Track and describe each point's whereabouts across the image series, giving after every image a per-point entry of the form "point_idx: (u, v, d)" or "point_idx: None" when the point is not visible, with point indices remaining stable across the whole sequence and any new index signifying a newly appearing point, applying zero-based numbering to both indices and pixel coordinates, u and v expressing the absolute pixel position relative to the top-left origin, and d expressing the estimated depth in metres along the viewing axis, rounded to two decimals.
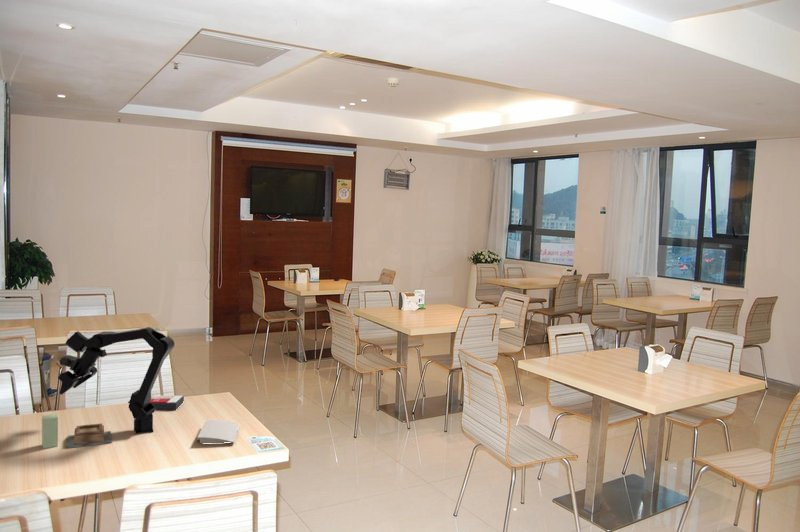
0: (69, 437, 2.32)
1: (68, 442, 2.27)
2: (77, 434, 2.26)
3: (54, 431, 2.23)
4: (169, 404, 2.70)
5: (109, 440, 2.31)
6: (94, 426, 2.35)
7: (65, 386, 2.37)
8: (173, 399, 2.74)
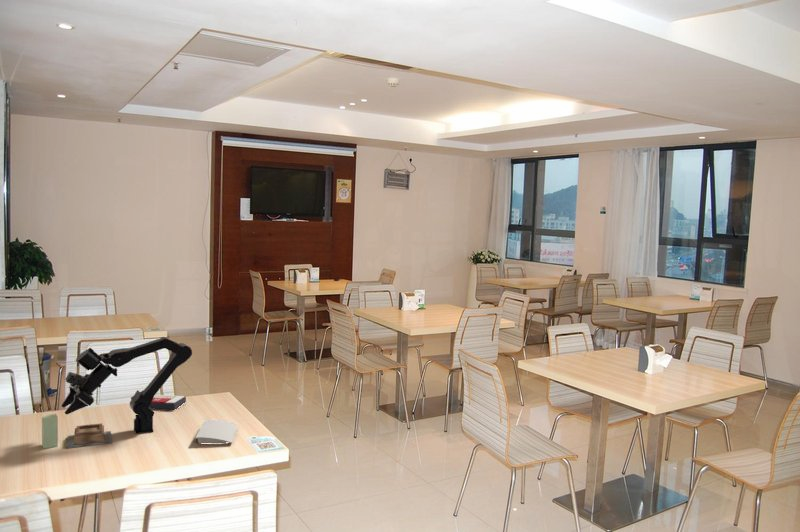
0: (69, 437, 2.32)
1: (68, 442, 2.27)
2: (77, 434, 2.26)
3: (54, 431, 2.23)
4: (168, 404, 2.69)
5: (109, 440, 2.31)
6: (94, 426, 2.35)
7: (76, 405, 2.24)
8: (173, 399, 2.74)
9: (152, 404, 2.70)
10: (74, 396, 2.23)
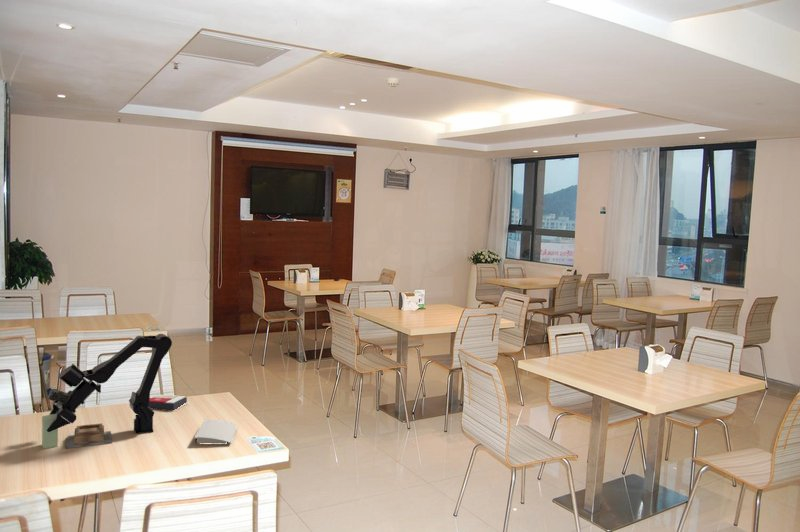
0: (69, 437, 2.32)
1: (68, 442, 2.27)
2: (77, 434, 2.26)
3: (54, 431, 2.23)
4: (167, 404, 2.69)
5: (109, 440, 2.31)
6: (94, 426, 2.35)
7: (58, 423, 2.21)
8: (173, 399, 2.74)
9: (152, 404, 2.71)
10: (56, 413, 2.20)
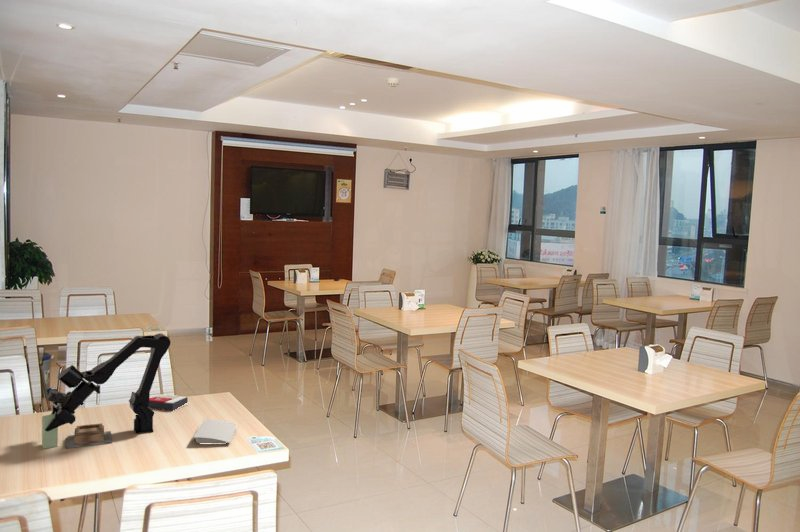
0: (69, 437, 2.32)
1: (68, 442, 2.27)
2: (77, 434, 2.26)
3: (54, 431, 2.23)
4: (166, 404, 2.69)
5: (109, 440, 2.31)
6: (94, 426, 2.35)
7: (56, 422, 2.22)
8: (173, 399, 2.73)
9: (152, 403, 2.72)
10: (55, 413, 2.21)
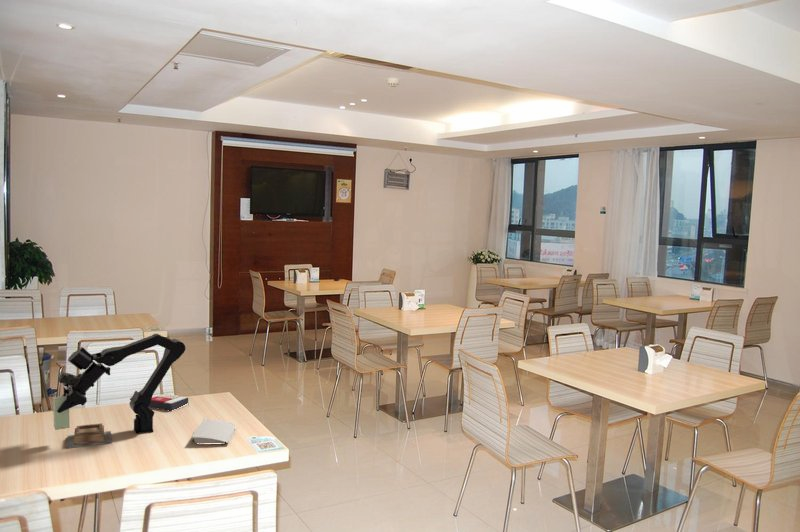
0: (69, 437, 2.32)
1: (68, 442, 2.27)
2: (77, 434, 2.26)
3: (65, 412, 2.25)
4: (165, 404, 2.69)
5: (109, 440, 2.31)
6: (94, 426, 2.35)
7: (68, 404, 2.24)
8: (173, 400, 2.73)
9: (153, 403, 2.72)
10: (66, 394, 2.23)
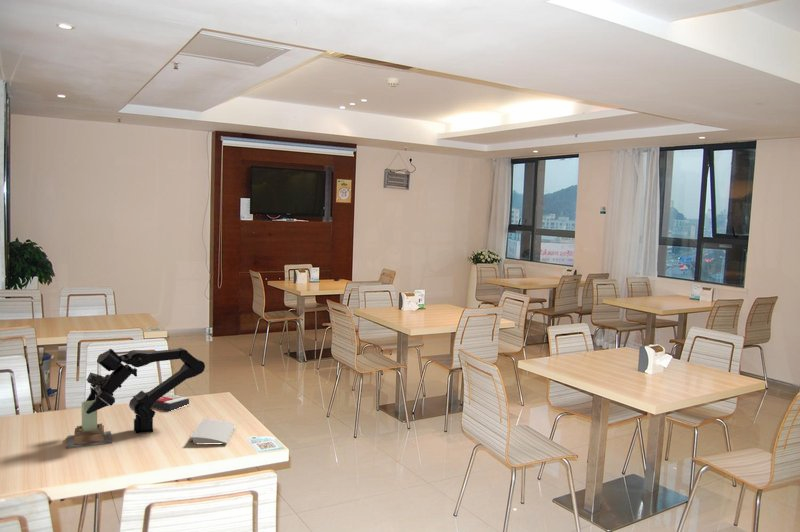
0: (69, 437, 2.32)
1: (68, 442, 2.27)
2: (77, 434, 2.26)
3: (94, 416, 2.30)
4: (165, 404, 2.69)
5: (109, 440, 2.31)
6: None
7: (97, 405, 2.27)
8: (173, 400, 2.73)
9: None
10: (95, 396, 2.26)
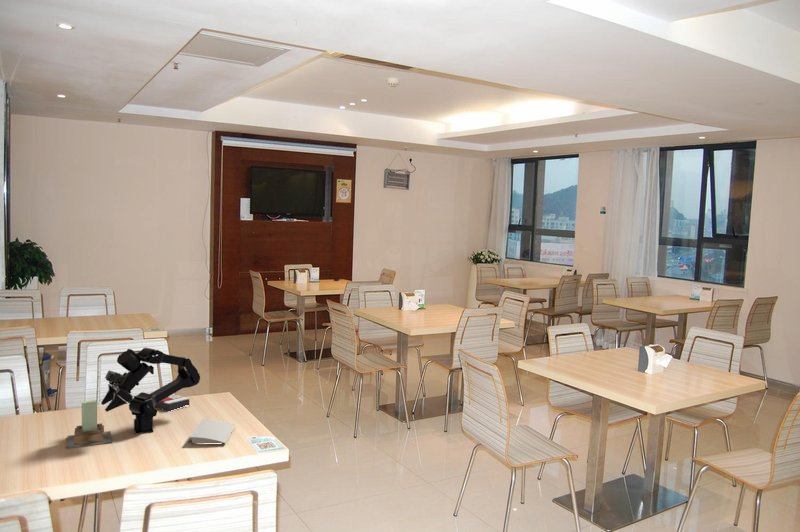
0: (69, 437, 2.32)
1: (68, 442, 2.27)
2: (77, 434, 2.26)
3: (94, 416, 2.30)
4: (164, 404, 2.69)
5: (109, 440, 2.31)
6: None
7: (115, 403, 2.31)
8: (173, 400, 2.73)
9: None
10: (114, 394, 2.30)
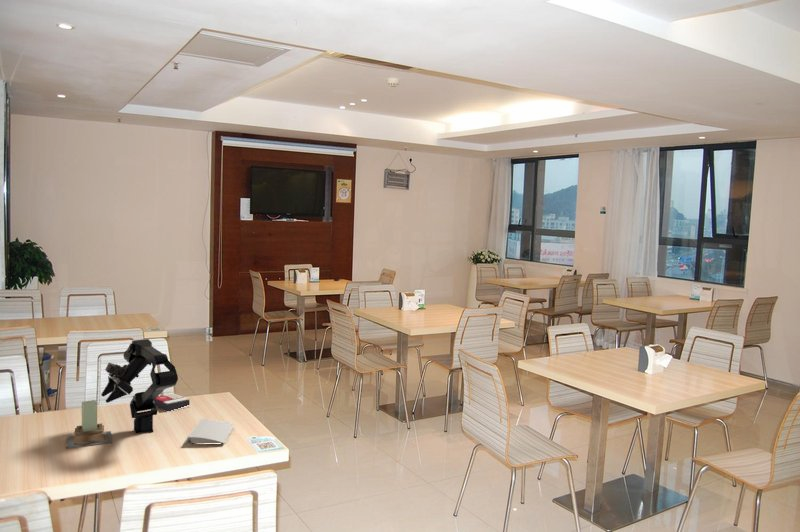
0: (69, 437, 2.32)
1: (68, 442, 2.27)
2: (77, 434, 2.26)
3: (94, 416, 2.30)
4: (163, 404, 2.69)
5: (109, 440, 2.31)
6: None
7: (116, 394, 2.36)
8: (173, 400, 2.72)
9: (155, 401, 2.74)
10: (114, 385, 2.35)
